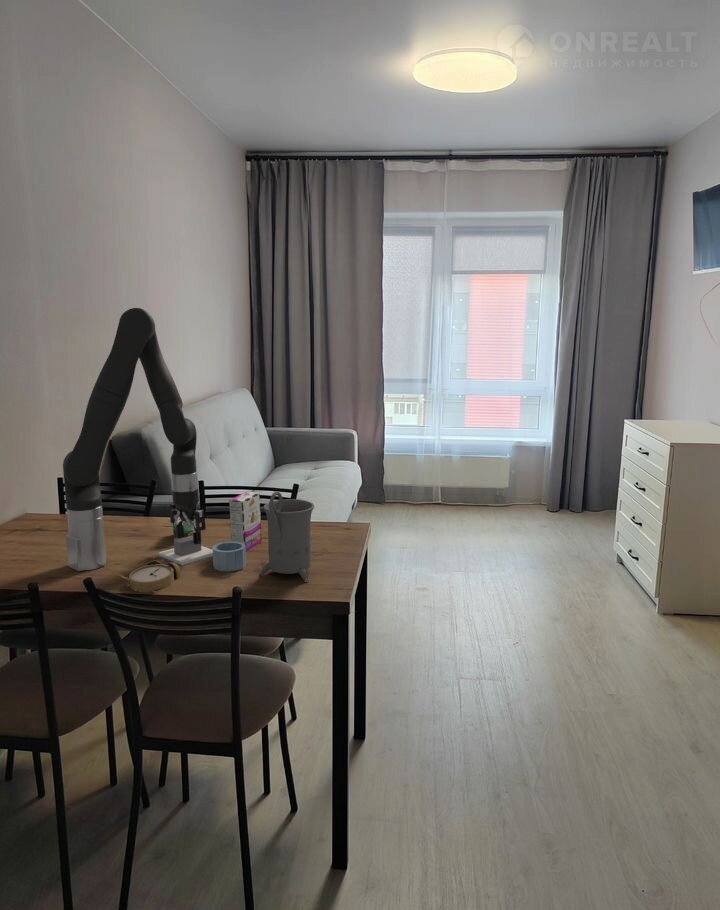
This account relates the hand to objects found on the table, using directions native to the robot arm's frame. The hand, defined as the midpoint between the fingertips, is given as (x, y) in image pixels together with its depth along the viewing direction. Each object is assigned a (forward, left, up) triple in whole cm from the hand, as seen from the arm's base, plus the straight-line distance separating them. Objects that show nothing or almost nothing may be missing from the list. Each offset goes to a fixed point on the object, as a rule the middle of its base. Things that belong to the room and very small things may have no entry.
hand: (188, 540), depth 199 cm
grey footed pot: (+9, -33, -5) cm, 35 cm away
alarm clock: (-18, -11, -5) cm, 21 cm away
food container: (+9, +15, -5) cm, 18 cm away
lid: (-1, 0, -4) cm, 4 cm away
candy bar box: (+16, -6, -5) cm, 18 cm away
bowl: (+2, -16, -5) cm, 17 cm away
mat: (-1, 0, -5) cm, 5 cm away
